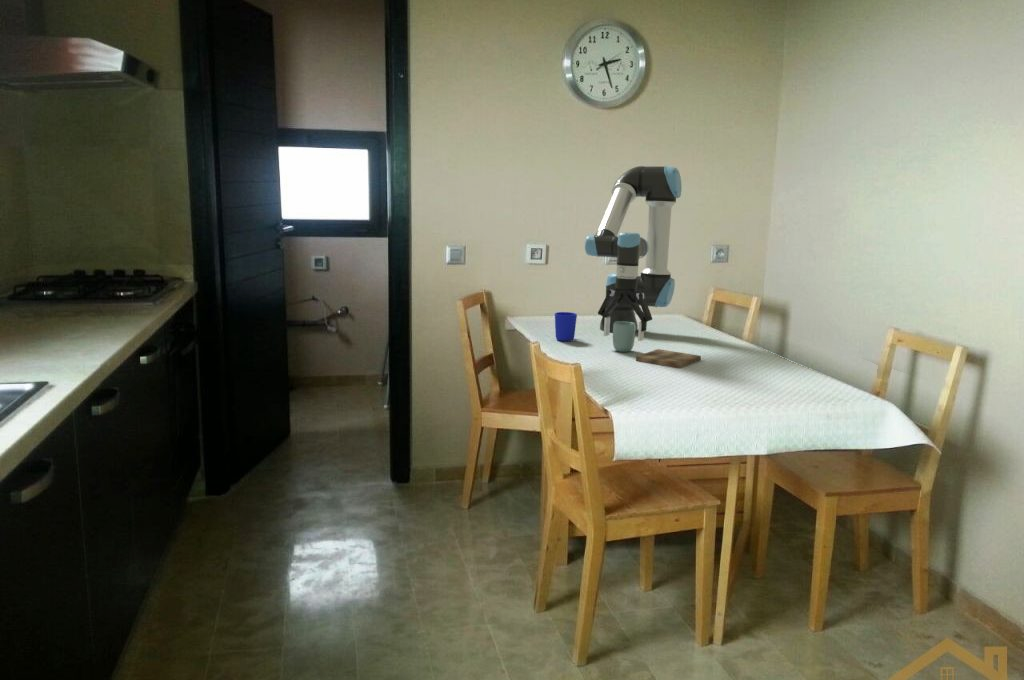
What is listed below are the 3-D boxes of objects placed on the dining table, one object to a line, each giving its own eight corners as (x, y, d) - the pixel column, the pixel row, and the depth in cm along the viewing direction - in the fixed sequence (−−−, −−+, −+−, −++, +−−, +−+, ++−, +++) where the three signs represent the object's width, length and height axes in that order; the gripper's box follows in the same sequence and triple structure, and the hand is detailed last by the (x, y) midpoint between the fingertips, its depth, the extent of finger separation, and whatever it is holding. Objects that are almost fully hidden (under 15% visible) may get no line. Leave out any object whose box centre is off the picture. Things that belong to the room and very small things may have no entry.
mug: (576, 336, 306) (577, 310, 304) (575, 342, 295) (576, 316, 293) (554, 335, 307) (555, 310, 305) (553, 341, 295) (554, 315, 293)
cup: (633, 354, 277) (635, 325, 276) (611, 352, 279) (612, 324, 277) (634, 349, 285) (636, 321, 283) (612, 348, 286) (614, 320, 285)
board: (635, 360, 267) (636, 356, 267) (657, 353, 279) (658, 348, 279) (680, 368, 258) (680, 363, 257) (700, 360, 270) (701, 355, 270)
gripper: (590, 275, 281) (587, 334, 285) (654, 281, 267) (650, 343, 270) (601, 273, 287) (598, 332, 291) (664, 279, 273) (660, 341, 276)
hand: (623, 337), depth 281 cm, fingers open, 13 cm apart
